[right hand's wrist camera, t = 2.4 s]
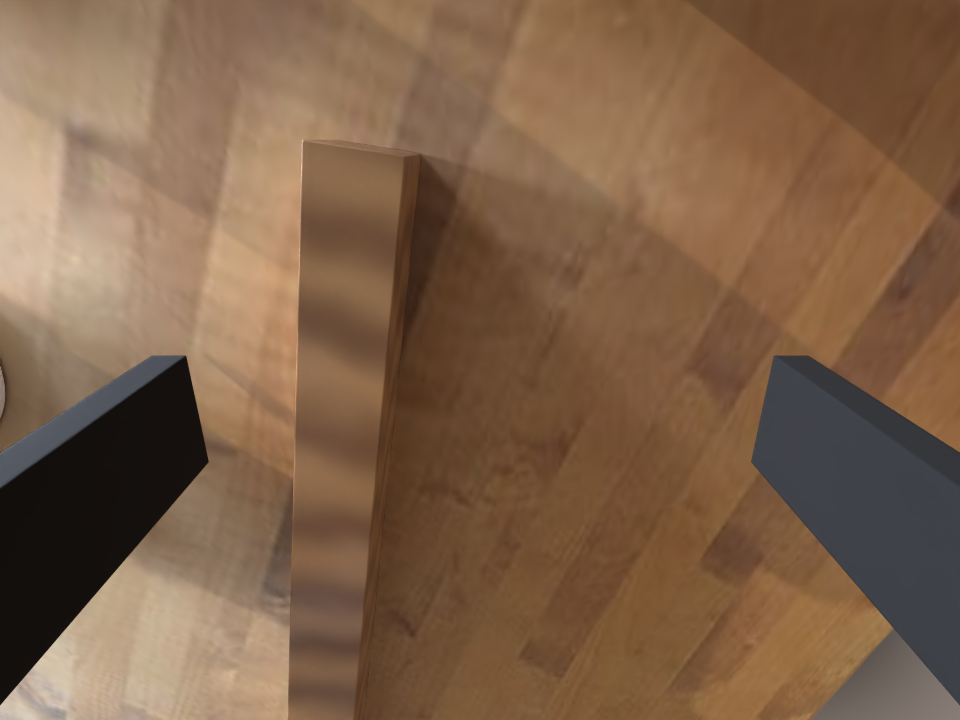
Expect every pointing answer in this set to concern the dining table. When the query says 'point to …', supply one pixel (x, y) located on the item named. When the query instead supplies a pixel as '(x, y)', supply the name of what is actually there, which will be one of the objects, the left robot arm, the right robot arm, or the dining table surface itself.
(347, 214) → the post
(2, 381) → the left robot arm
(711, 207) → the dining table surface
